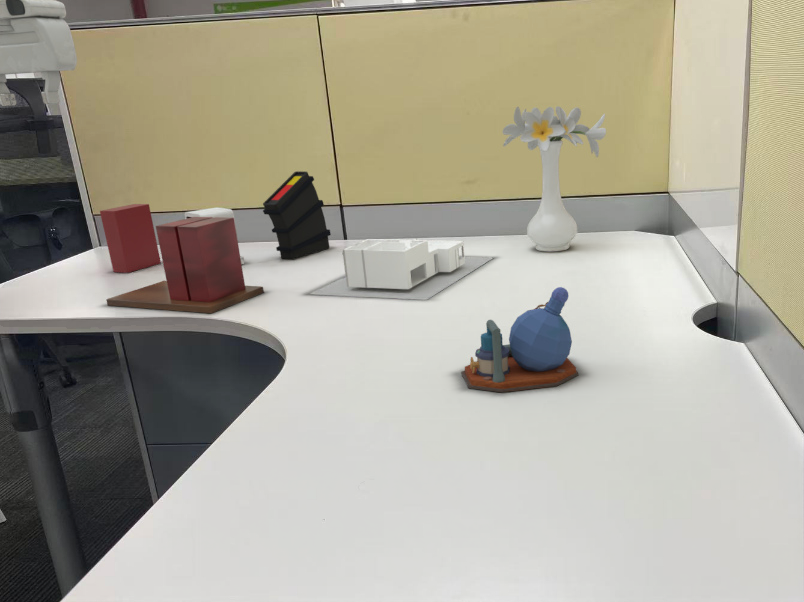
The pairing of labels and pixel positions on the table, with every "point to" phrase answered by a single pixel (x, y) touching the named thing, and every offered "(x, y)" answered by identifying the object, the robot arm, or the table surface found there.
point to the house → (401, 268)
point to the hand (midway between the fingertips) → (30, 104)
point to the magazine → (297, 217)
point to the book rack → (195, 269)
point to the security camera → (213, 213)
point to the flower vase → (552, 169)
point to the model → (525, 352)
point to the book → (130, 237)
